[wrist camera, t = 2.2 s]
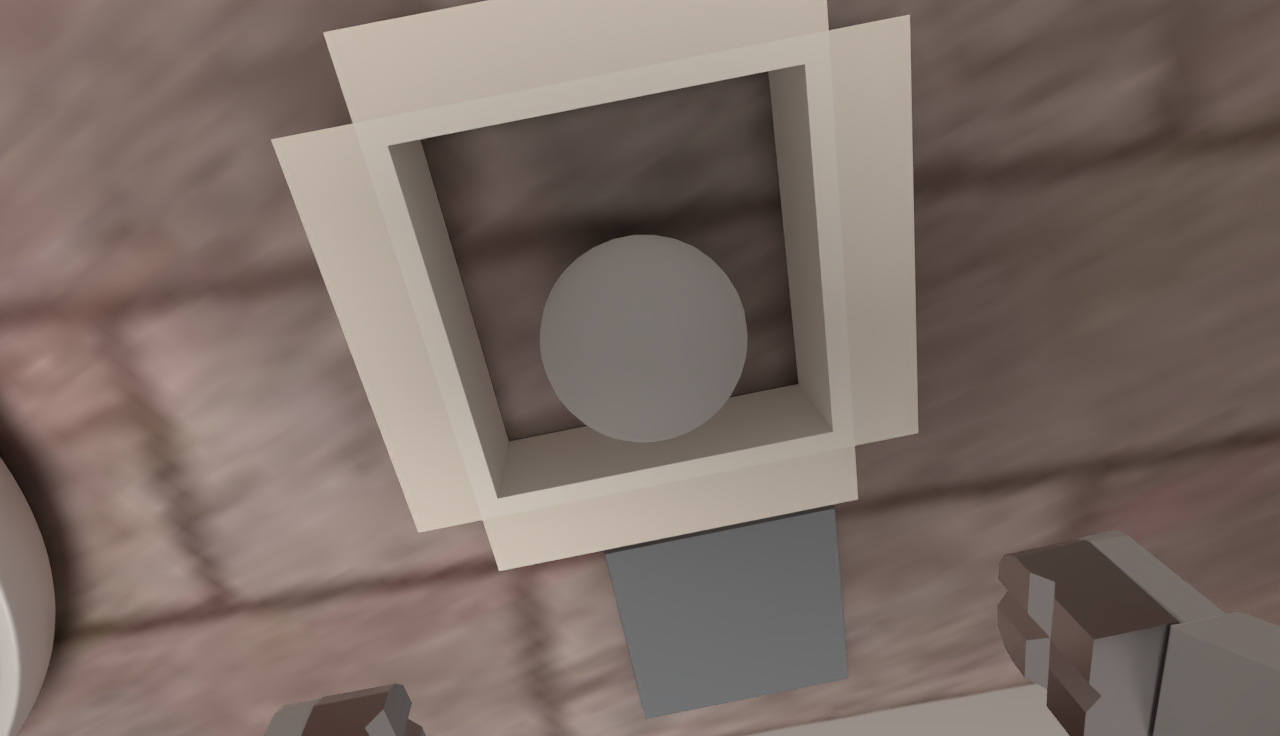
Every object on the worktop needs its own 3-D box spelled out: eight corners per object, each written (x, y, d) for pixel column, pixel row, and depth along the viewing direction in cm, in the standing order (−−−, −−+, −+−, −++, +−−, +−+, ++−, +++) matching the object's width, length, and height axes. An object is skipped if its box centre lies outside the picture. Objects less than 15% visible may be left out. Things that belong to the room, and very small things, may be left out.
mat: (830, 501, 33) (834, 508, 32) (844, 669, 37) (848, 678, 37) (604, 546, 33) (605, 554, 32) (644, 709, 37) (645, 719, 36)
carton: (850, -54, 24) (908, -82, 20) (874, 434, 32) (919, 487, 27) (296, 55, 24) (236, 48, 20) (456, 517, 31) (437, 583, 27)
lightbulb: (731, 280, 28) (816, 391, 18) (616, 369, 29) (636, 521, 19) (637, 160, 26) (675, 209, 16) (518, 261, 27) (482, 368, 17)
